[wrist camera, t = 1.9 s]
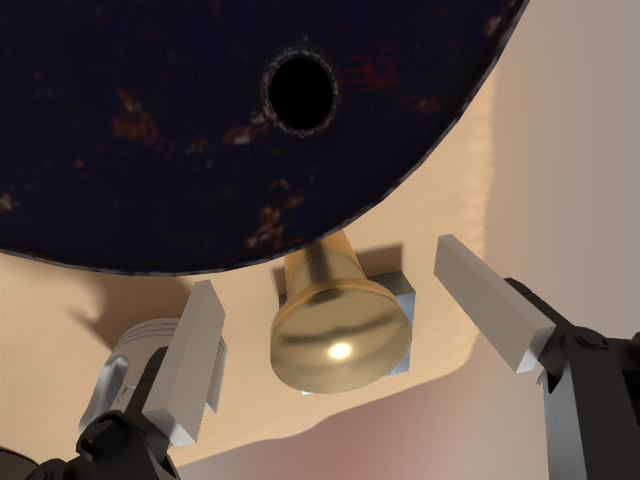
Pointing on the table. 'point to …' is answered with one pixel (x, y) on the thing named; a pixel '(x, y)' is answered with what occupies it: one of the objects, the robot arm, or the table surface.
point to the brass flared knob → (335, 322)
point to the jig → (405, 299)
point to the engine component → (141, 368)
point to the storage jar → (222, 121)
